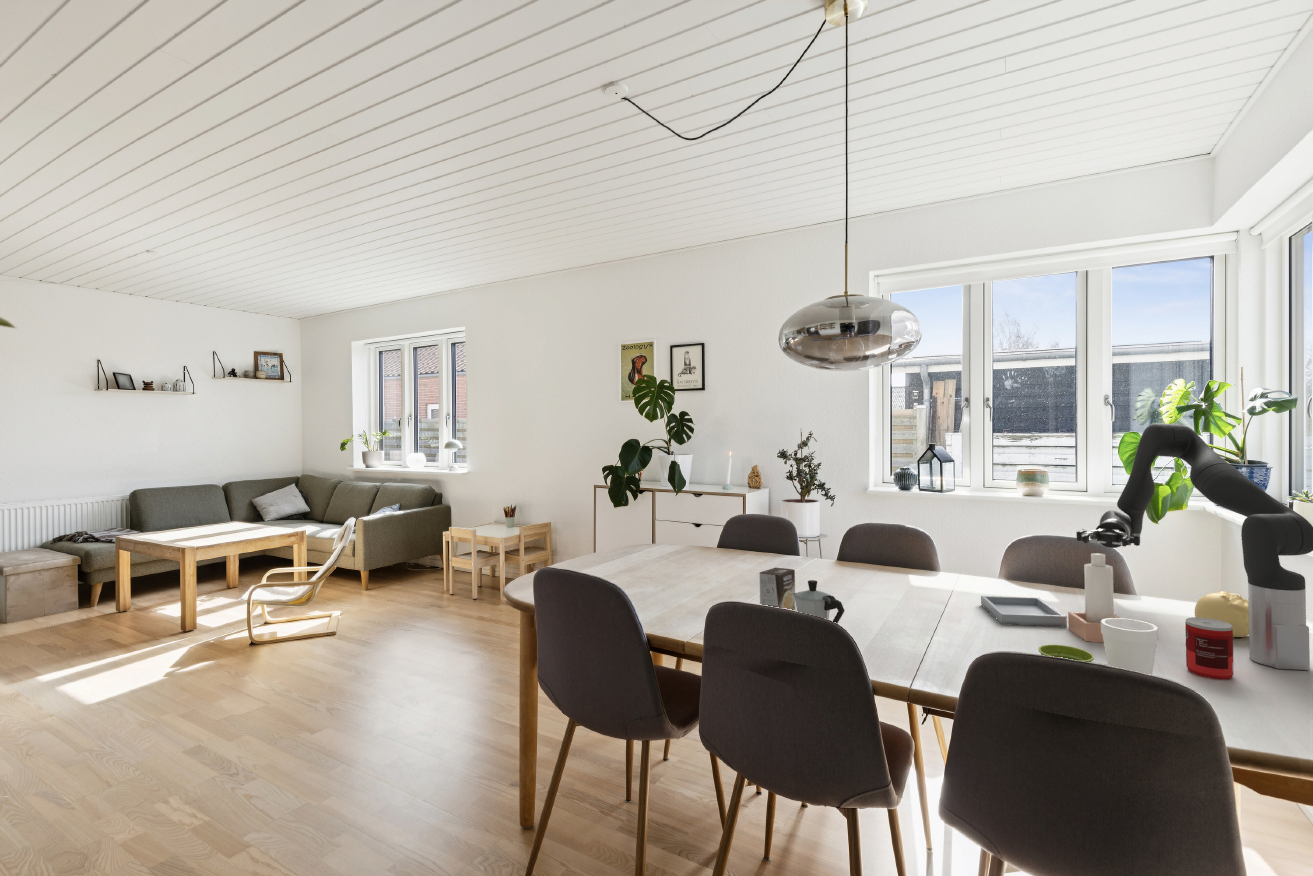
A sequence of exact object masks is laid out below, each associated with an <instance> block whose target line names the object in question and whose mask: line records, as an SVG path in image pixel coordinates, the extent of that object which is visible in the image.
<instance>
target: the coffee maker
mask: <svg viewBox="0 0 1313 876" xmlns="http://www.w3.org/2000/svg"><path fill="white" fill-rule="evenodd" d="M807 584H808V589H807V590H803V591H799V592H795V593H792V594H793V595H794V597H795V609H796V612H797V611H798V612H802V613H807V614H811V615H815V616H819V617H822V618H826V619H829V620H830V611H831V610H835V609H836V610H837V612H836V614H835V616H834V618H833V619H832V621H833V622H836V623H837V625H838V623H839V622H840V620H841V618H842V616H843V615H844V613H845V608H844V605H843V602H841V601H840V600H839V599H837V598H836V597H835V596H834V595H831V594H829V593H827V592H824V591H820V590H817V587H818V580H814V579H809V580H808V581H807Z"/></svg>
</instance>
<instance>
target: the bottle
mask: <svg viewBox="0 0 1313 876" xmlns="http://www.w3.org/2000/svg"><path fill="white" fill-rule="evenodd" d="M1083 565H1084V569H1083V570H1084V572H1083V573H1084V605H1085V606H1084V607H1085V609H1084V613H1085V618H1086V621H1087V622H1088V623H1101V620H1102V619H1106V618H1114V614H1115V605H1114V602H1115V601H1114V600H1115V599H1114V567H1113V566H1112V565H1109V564H1106V554H1105V553H1101V552H1100V553H1098V552H1096V553H1094V552H1092V553H1091V554H1090V563H1085V564H1083Z"/></svg>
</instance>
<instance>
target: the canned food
mask: <svg viewBox="0 0 1313 876" xmlns="http://www.w3.org/2000/svg"><path fill="white" fill-rule="evenodd" d="M1184 623H1185V625H1184V626H1185V627H1184V628H1185V630H1184V631H1185V659H1186V660H1185V661H1186V665H1185V666H1186V668H1187V670H1188V671H1189V672H1190V673H1192V674H1193V675H1196V676H1199V677H1202V678H1206V679H1211V680H1222V681H1226V680H1227V681H1228V680H1231V679H1232V678H1233V677H1234V637H1233V628H1232V625H1231V624H1229V623H1226V622H1223V621H1220V620H1215V619H1209V618H1199V617H1195V616H1194V617H1187V618H1186V619H1185V622H1184Z"/></svg>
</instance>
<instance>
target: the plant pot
mask: <svg viewBox="0 0 1313 876" xmlns="http://www.w3.org/2000/svg"><path fill="white" fill-rule="evenodd" d="M1038 652H1039V653H1040V656H1041V655H1045V656H1052V657H1053V656H1054V657H1063V658H1068V659H1073V660H1077V661H1085V662H1091V663H1092V662H1093V661H1094V660H1095V656H1094V654H1093V653H1091V652H1089V651H1087V650H1085V649H1082V648H1079V647H1075V646H1070V645H1064V644H1044V645H1041V646H1039V647H1038Z"/></svg>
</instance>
